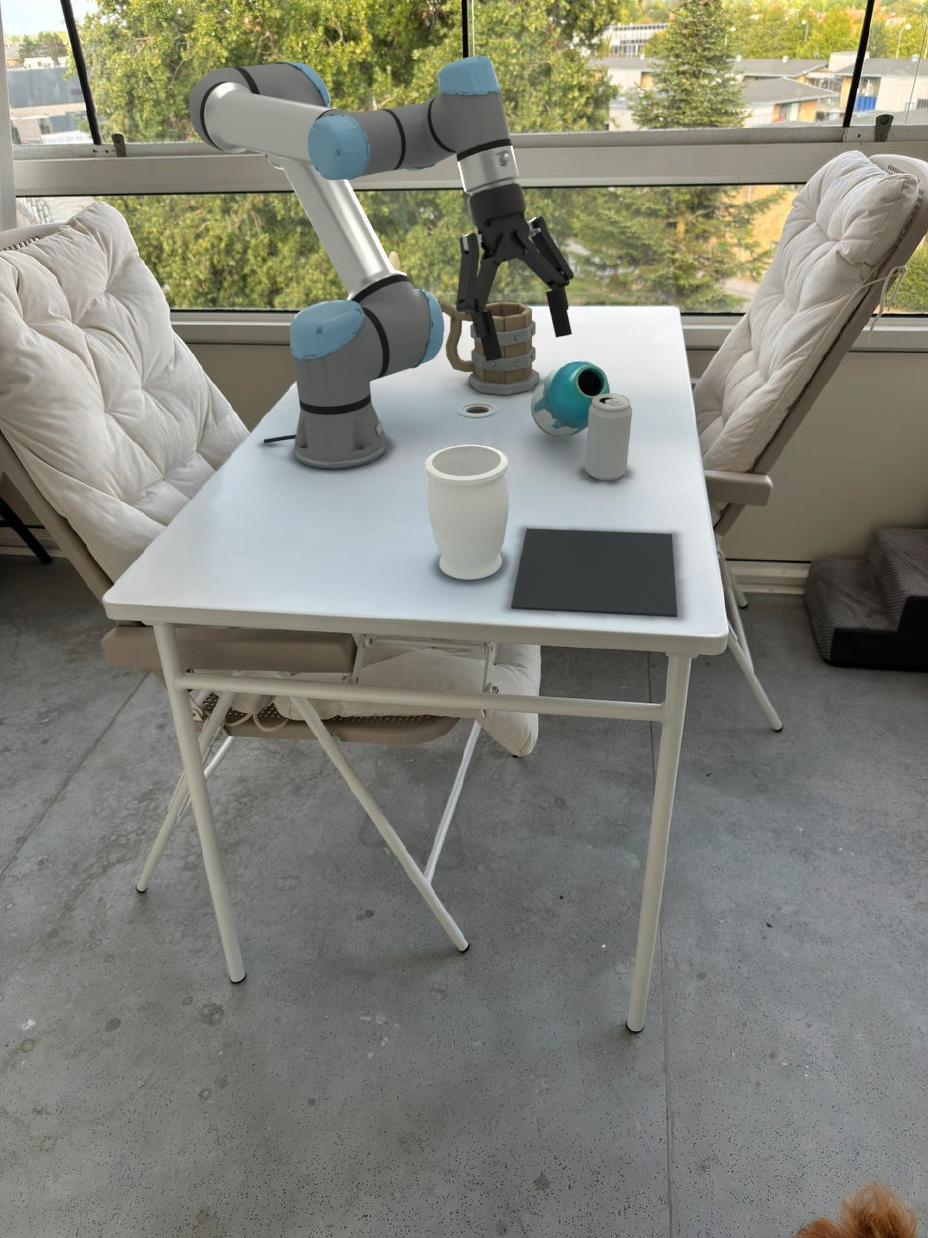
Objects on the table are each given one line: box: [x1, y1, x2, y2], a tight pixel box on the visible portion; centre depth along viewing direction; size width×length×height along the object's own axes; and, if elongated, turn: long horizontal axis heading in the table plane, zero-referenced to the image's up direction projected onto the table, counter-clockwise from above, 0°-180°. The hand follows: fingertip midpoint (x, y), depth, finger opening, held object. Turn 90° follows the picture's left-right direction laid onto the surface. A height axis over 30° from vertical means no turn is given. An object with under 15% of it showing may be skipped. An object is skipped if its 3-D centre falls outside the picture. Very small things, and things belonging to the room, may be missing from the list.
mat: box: [510, 527, 678, 617], centre depth 121 cm, size 20×20×1 cm
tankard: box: [439, 300, 540, 396], centre depth 177 cm, size 20×13×15 cm, turn 69°
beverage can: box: [584, 393, 633, 481], centre depth 141 cm, size 6×6×12 cm
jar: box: [424, 444, 510, 581], centre depth 120 cm, size 11×10×15 cm
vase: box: [530, 359, 611, 438], centre depth 149 cm, size 11×11×19 cm
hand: (530, 347), depth 132 cm, fingers open, 13 cm apart
